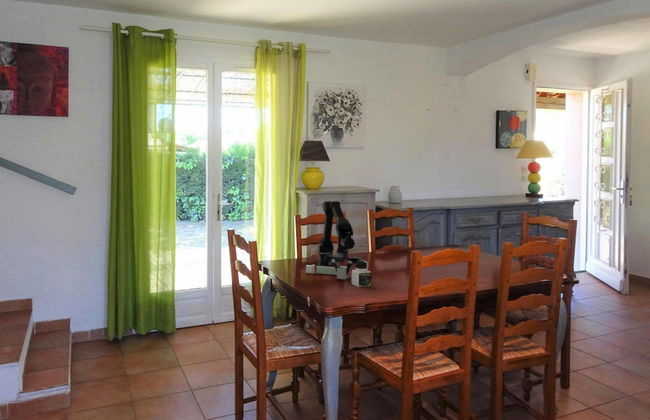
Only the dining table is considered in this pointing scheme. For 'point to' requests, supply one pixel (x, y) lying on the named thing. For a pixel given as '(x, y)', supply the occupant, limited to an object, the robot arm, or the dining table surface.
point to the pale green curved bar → (326, 270)
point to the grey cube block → (342, 272)
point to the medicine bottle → (361, 274)
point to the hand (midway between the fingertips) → (342, 275)
